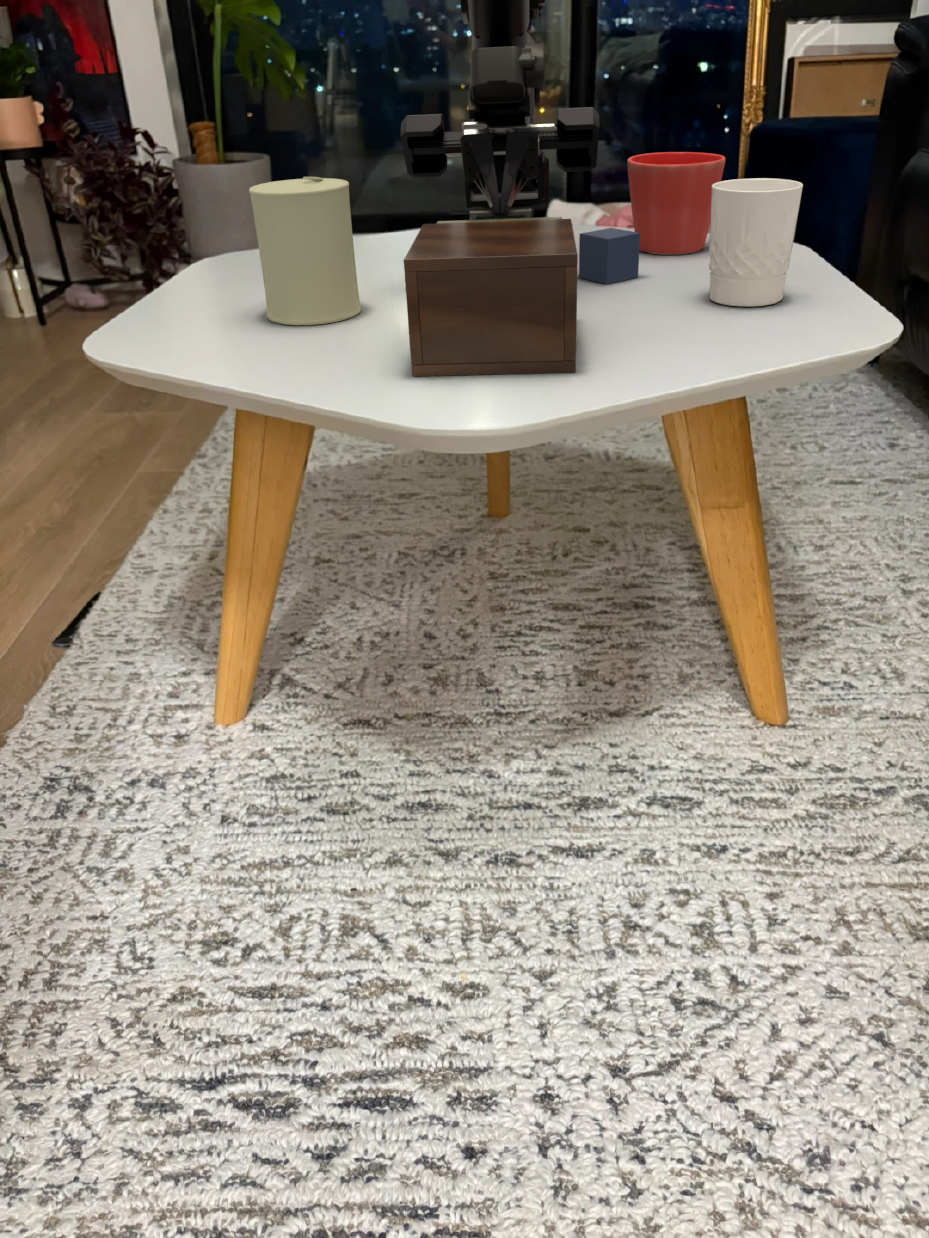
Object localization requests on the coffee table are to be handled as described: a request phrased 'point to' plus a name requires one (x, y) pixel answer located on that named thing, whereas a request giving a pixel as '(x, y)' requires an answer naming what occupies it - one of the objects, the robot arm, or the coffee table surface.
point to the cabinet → (492, 298)
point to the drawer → (488, 216)
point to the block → (609, 255)
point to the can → (306, 250)
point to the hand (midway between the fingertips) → (499, 218)
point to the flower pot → (673, 199)
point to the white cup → (751, 239)
